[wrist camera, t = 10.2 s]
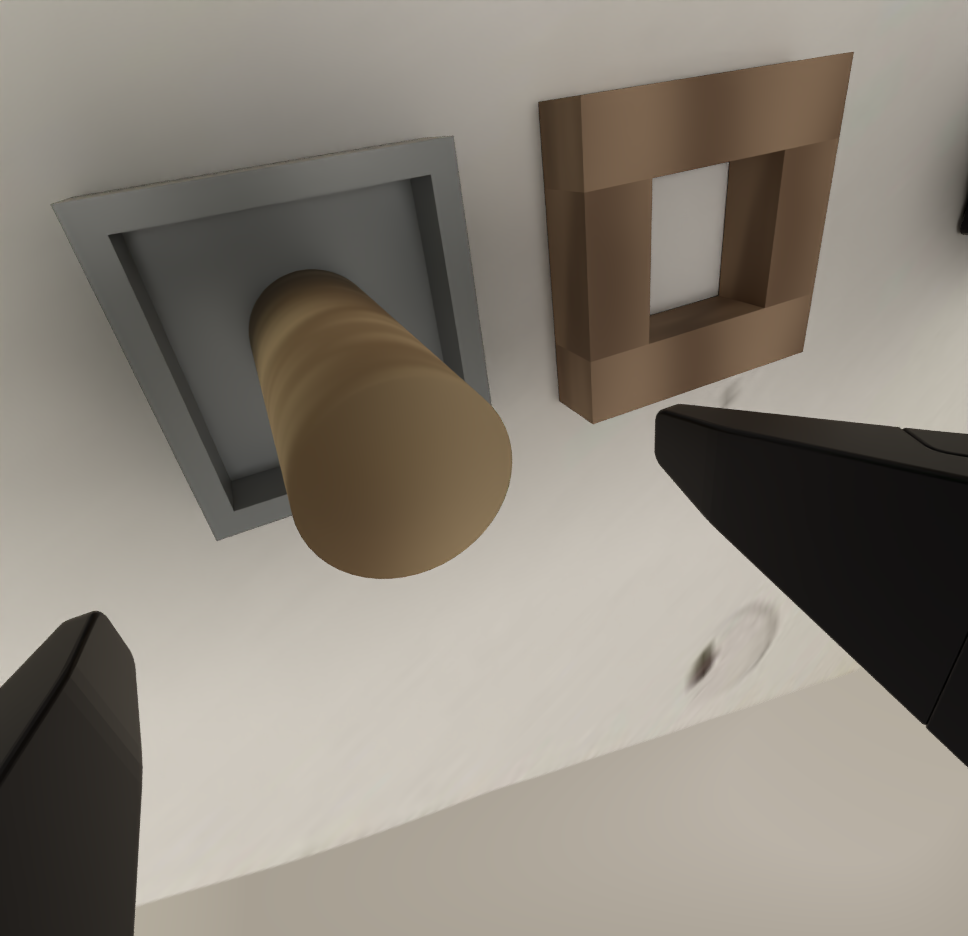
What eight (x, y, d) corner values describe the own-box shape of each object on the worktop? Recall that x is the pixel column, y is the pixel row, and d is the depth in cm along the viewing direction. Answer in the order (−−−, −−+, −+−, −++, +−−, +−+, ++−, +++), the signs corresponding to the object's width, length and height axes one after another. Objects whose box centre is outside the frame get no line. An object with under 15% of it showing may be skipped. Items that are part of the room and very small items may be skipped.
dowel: (362, 256, 17) (498, 347, 9) (391, 376, 20) (521, 533, 12) (228, 286, 16) (253, 418, 8) (274, 410, 19) (328, 609, 11)
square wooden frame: (791, 61, 21) (853, 51, 19) (757, 336, 26) (802, 351, 24) (538, 101, 18) (580, 95, 16) (559, 401, 24) (592, 424, 22)
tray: (423, 138, 17) (453, 136, 15) (470, 419, 22) (497, 445, 20) (72, 197, 15) (51, 204, 13) (215, 501, 20) (216, 540, 18)
